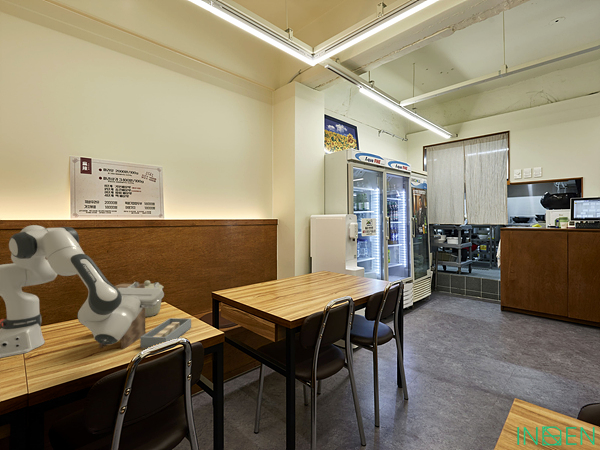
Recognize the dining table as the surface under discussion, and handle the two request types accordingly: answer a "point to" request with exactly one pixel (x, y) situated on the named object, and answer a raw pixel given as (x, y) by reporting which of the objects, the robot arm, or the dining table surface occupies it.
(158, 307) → the canister
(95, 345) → the dining table surface
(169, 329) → the bar
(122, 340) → the zigzag patterned arch
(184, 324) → the tray
